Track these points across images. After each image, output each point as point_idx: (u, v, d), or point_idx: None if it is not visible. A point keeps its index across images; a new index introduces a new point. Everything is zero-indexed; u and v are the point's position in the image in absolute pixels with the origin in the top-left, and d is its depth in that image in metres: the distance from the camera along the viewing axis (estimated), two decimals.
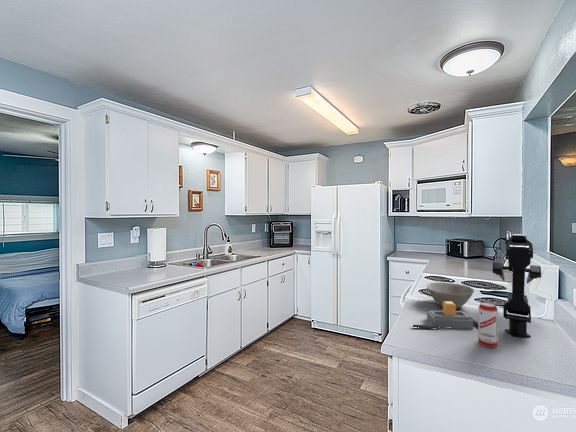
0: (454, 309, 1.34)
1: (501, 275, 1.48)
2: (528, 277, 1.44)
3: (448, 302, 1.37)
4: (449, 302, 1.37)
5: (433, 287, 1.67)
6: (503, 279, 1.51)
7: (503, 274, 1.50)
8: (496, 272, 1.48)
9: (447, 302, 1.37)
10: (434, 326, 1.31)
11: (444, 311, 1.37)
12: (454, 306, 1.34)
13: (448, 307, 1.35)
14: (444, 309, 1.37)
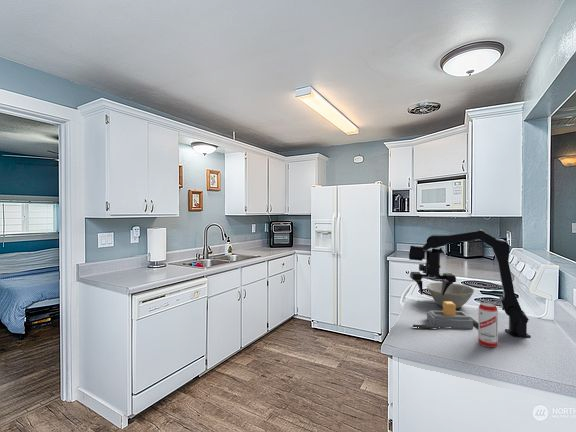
0: (454, 309, 1.34)
1: (421, 283, 1.38)
2: (444, 285, 1.38)
3: (448, 302, 1.37)
4: (449, 302, 1.37)
5: (433, 287, 1.67)
6: (421, 290, 1.40)
7: (421, 284, 1.40)
8: (416, 278, 1.38)
9: (447, 302, 1.37)
10: (434, 326, 1.31)
11: (444, 311, 1.37)
12: (454, 306, 1.34)
13: (448, 307, 1.35)
14: (444, 309, 1.37)
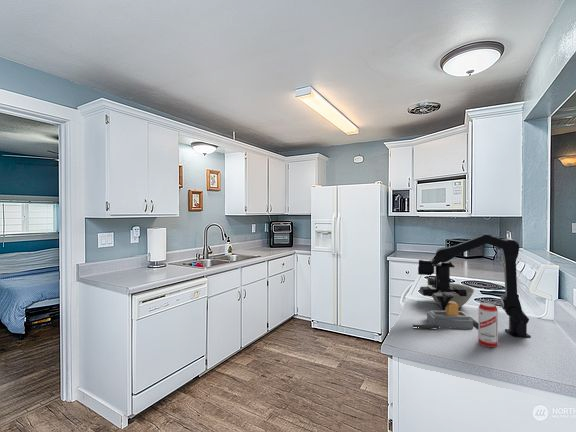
0: (457, 309, 1.34)
1: (442, 298, 1.34)
2: (445, 299, 1.36)
3: (451, 302, 1.36)
4: (452, 302, 1.36)
5: (433, 287, 1.67)
6: (443, 306, 1.36)
7: None
8: (427, 294, 1.35)
9: (450, 302, 1.36)
10: (434, 326, 1.31)
11: (447, 311, 1.37)
12: (457, 306, 1.34)
13: (451, 307, 1.35)
14: (447, 309, 1.37)
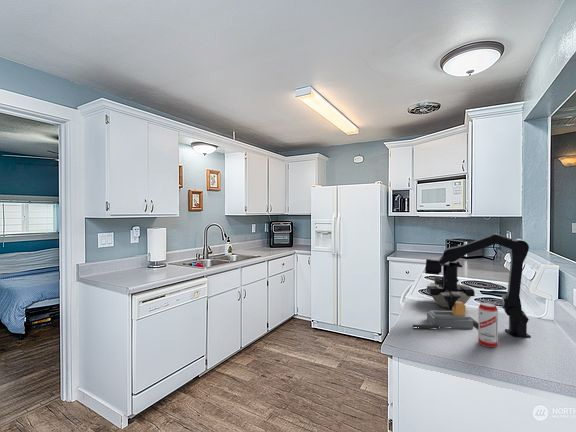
0: (464, 309, 1.34)
1: (449, 298, 1.34)
2: (452, 299, 1.35)
3: (457, 302, 1.36)
4: (458, 302, 1.36)
5: None
6: (450, 306, 1.35)
7: None
8: (434, 293, 1.34)
9: (456, 302, 1.36)
10: (434, 326, 1.31)
11: (453, 311, 1.37)
12: (464, 306, 1.34)
13: (458, 307, 1.34)
14: (453, 309, 1.36)
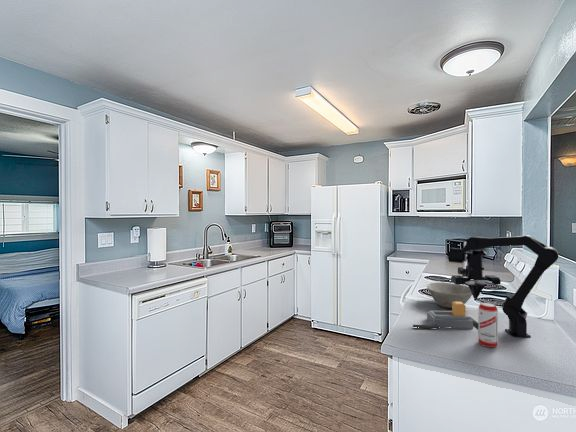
0: (464, 309, 1.34)
1: (475, 287, 1.32)
2: (477, 288, 1.34)
3: (457, 302, 1.36)
4: (458, 302, 1.36)
5: (433, 287, 1.67)
6: (475, 295, 1.34)
7: None
8: (460, 282, 1.32)
9: (456, 302, 1.36)
10: (434, 326, 1.31)
11: (453, 311, 1.37)
12: (464, 306, 1.34)
13: (458, 307, 1.34)
14: (453, 309, 1.36)
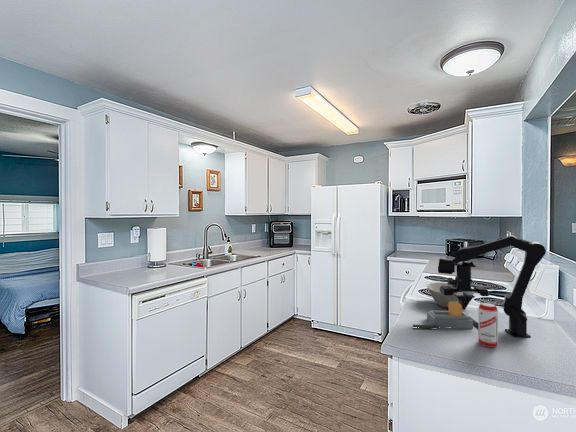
0: (460, 309, 1.34)
1: (463, 298, 1.33)
2: (465, 299, 1.35)
3: (454, 302, 1.36)
4: (455, 302, 1.36)
5: (433, 287, 1.67)
6: (463, 306, 1.35)
7: None
8: (448, 293, 1.34)
9: (453, 302, 1.36)
10: (434, 326, 1.31)
11: (450, 311, 1.37)
12: (460, 306, 1.34)
13: (454, 307, 1.34)
14: (450, 309, 1.37)
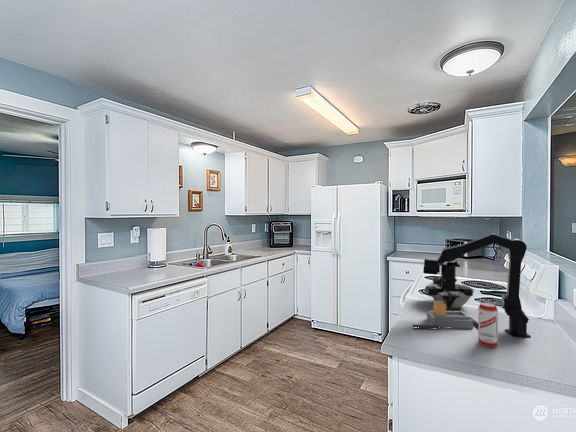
0: (444, 309, 1.35)
1: (447, 298, 1.34)
2: (450, 299, 1.35)
3: (439, 302, 1.37)
4: (440, 302, 1.37)
5: None
6: (448, 306, 1.36)
7: None
8: (432, 293, 1.34)
9: (438, 302, 1.37)
10: (434, 326, 1.31)
11: (435, 311, 1.38)
12: (444, 306, 1.35)
13: (439, 307, 1.35)
14: (435, 309, 1.37)
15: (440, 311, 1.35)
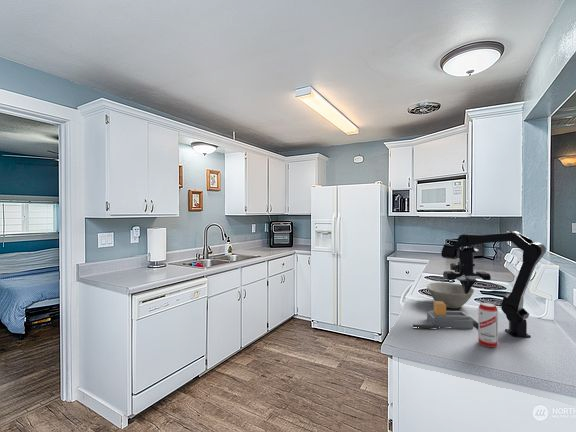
0: (445, 309, 1.35)
1: (466, 282, 1.37)
2: (468, 283, 1.39)
3: (439, 302, 1.37)
4: (440, 302, 1.37)
5: (433, 287, 1.67)
6: (466, 290, 1.39)
7: None
8: (451, 277, 1.38)
9: (438, 302, 1.37)
10: (434, 326, 1.31)
11: (435, 311, 1.38)
12: (445, 306, 1.35)
13: (439, 307, 1.35)
14: (435, 309, 1.37)
15: (440, 311, 1.35)
